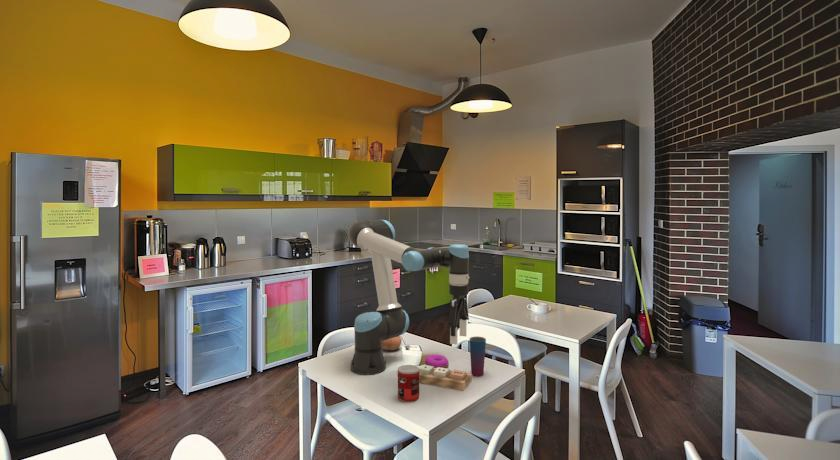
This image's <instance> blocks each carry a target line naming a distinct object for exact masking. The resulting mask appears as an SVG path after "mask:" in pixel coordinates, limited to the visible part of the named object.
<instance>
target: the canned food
mask: <svg viewBox="0 0 840 460" xmlns="http://www.w3.org/2000/svg"><path fill="white" fill-rule="evenodd" d="M419 367H420V366H417V365H414V364H413V365H412V364H402V365H401V366H399V367H397V397H398V400H400V401H402V402H405V403H408V402H409V403H411V402H415V401H417V400H418V399H419V397H420V383H419Z"/></svg>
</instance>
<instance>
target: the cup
mask: <svg viewBox="0 0 840 460" xmlns="http://www.w3.org/2000/svg"><path fill="white" fill-rule="evenodd" d="M486 343H487V339H486V338H485V337H483V336H477V335H476V336H470V337H469V353H470V355H469V356H470V370H471V371H470V372H471V373H470V374H472V377H473V376H474V377H482V376H484V373H485V371H484V370H485V358H486V346H487V345H486Z"/></svg>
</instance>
